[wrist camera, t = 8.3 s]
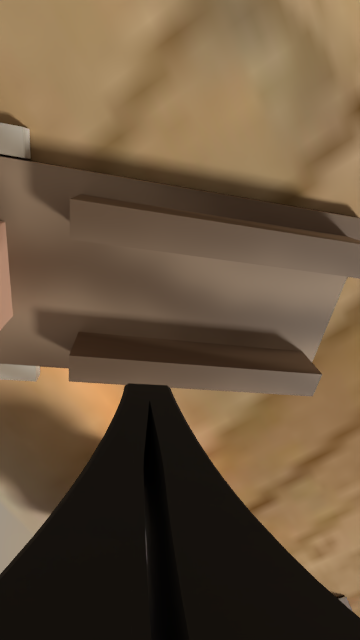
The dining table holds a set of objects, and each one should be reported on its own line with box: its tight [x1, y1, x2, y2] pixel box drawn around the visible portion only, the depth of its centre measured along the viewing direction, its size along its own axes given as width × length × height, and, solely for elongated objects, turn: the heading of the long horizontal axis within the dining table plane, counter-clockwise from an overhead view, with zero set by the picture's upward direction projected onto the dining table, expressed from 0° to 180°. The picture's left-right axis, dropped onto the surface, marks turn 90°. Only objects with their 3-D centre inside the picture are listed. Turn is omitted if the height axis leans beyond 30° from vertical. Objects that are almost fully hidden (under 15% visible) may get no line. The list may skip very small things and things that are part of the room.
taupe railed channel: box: [0, 123, 360, 396], centre depth 16 cm, size 14×26×4 cm, turn 81°
